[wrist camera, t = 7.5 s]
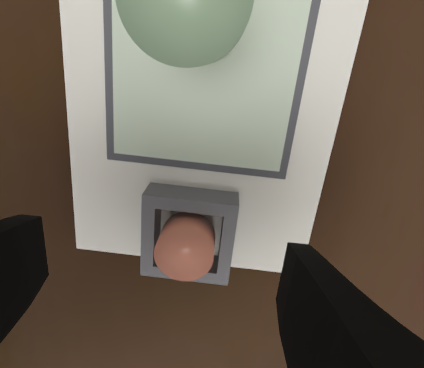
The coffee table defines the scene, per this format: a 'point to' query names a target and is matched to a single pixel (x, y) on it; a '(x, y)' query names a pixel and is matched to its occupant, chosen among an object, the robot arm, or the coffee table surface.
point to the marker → (185, 28)
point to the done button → (185, 247)
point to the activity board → (206, 131)
